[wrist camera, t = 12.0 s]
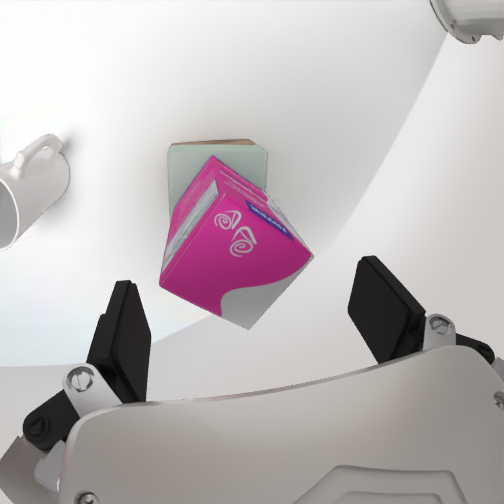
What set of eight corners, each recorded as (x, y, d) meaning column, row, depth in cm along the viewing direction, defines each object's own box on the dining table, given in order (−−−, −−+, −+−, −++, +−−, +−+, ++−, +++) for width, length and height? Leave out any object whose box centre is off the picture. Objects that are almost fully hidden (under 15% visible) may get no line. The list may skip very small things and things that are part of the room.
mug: (54, 213, 28) (5, 265, 18) (18, 180, 25) (-41, 220, 15) (99, 145, 26) (49, 172, 16) (59, 110, 23) (-4, 121, 12)
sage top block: (257, 145, 26) (268, 151, 22) (252, 222, 30) (261, 240, 26) (171, 145, 24) (167, 152, 21) (174, 225, 28) (171, 243, 25)
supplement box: (268, 190, 24) (319, 259, 14) (226, 242, 26) (247, 336, 16) (212, 150, 21) (224, 193, 12) (171, 208, 23) (153, 292, 13)
